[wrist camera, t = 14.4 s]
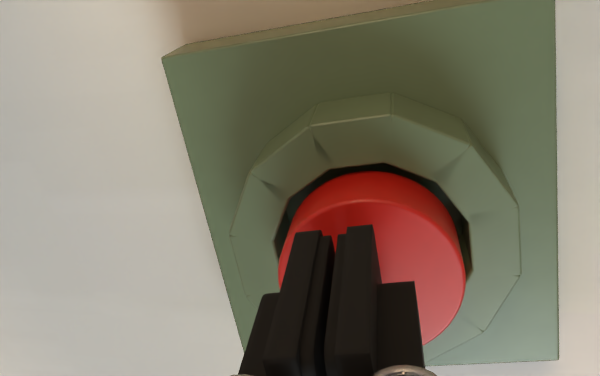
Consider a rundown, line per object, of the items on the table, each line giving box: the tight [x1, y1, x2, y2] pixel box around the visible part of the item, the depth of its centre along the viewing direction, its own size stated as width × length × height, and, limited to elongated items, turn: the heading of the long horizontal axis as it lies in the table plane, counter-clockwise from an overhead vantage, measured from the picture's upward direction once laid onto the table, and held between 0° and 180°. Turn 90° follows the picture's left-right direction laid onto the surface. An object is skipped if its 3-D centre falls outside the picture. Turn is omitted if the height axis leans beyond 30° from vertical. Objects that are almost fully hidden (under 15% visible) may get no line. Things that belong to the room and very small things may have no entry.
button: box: [278, 171, 466, 345], centre depth 14 cm, size 4×4×2 cm
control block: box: [162, 0, 559, 366], centre depth 16 cm, size 11×10×4 cm
